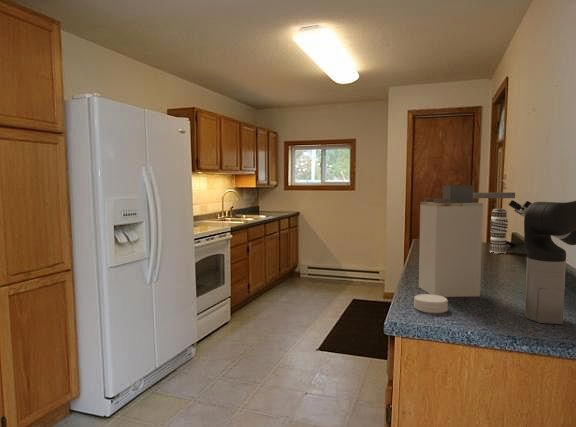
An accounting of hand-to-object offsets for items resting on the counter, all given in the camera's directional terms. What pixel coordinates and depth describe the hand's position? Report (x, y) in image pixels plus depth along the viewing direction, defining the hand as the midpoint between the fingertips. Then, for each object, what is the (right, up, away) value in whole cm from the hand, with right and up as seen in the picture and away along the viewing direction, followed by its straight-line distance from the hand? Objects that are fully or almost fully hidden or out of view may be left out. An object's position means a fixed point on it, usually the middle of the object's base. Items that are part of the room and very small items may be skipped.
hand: (517, 202), depth 141 cm
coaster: (-38, -34, -19) cm, 54 cm away
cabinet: (-25, -32, +1) cm, 40 cm away
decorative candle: (+38, -26, +84) cm, 96 cm away
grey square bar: (-14, 0, -1) cm, 14 cm away
